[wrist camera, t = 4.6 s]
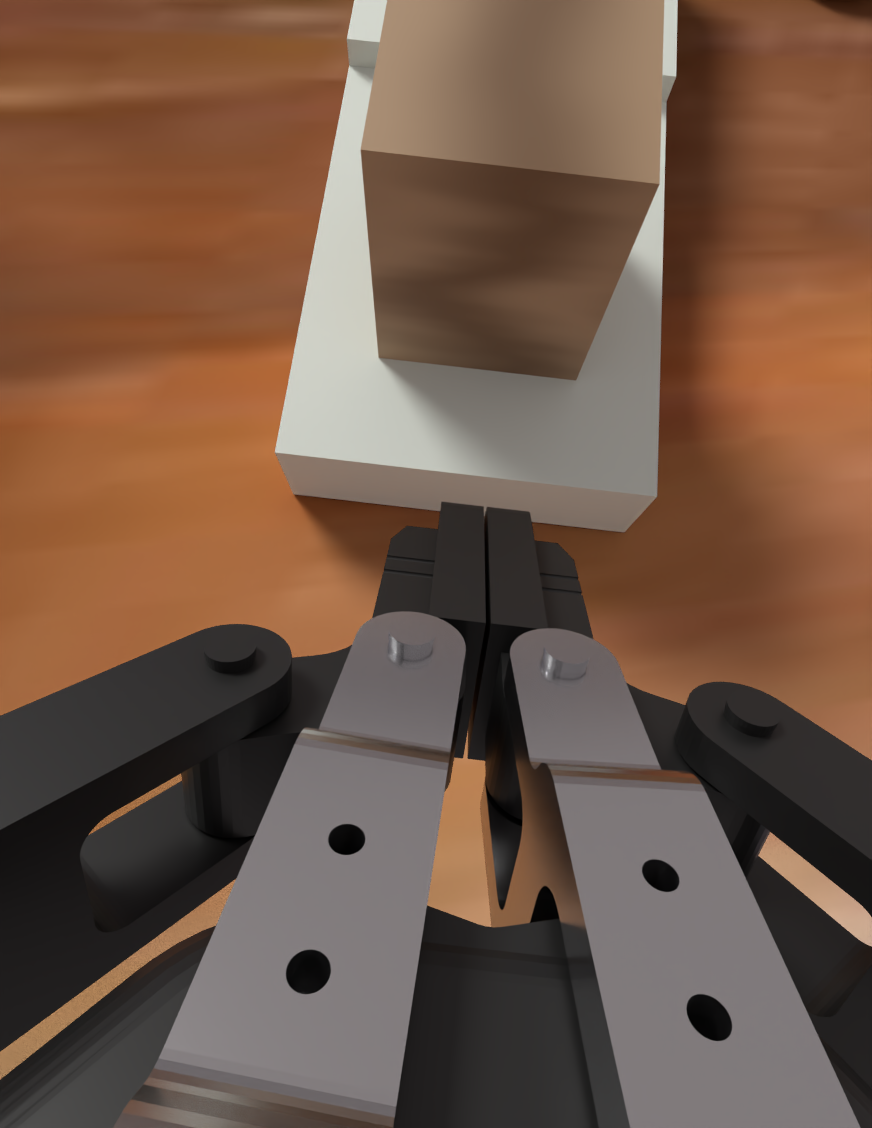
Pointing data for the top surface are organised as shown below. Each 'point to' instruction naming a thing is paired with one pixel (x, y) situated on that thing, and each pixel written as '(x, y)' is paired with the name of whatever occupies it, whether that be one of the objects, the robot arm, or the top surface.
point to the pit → (371, 18)
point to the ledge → (467, 388)
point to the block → (508, 175)
